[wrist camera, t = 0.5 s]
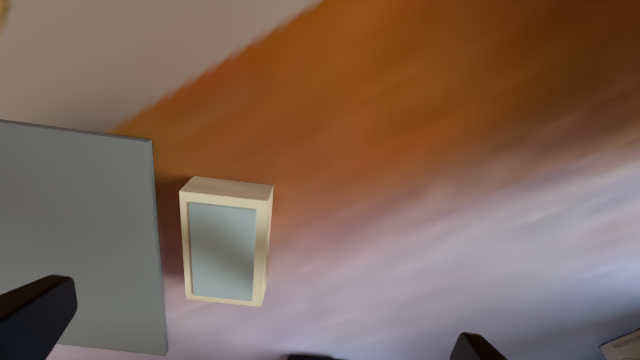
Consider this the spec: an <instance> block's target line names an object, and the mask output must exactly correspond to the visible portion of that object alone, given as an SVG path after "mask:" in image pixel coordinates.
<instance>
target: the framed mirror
mask: <svg viewBox="0 0 640 360" xmlns="http://www.w3.org/2000/svg"><path fill="white" fill-rule="evenodd" d="M179 199H180V214H181V230H182V245H183V261H184V276H185V292H186V299H189V300H199V301H209V302H218V303H228V304H238V305H247V306H257V307H261V306H262V302H263V298H264V294H265V290H266V286H267V274H268V259H269V244H270V229H271V214H272V199H273V185H266V184H257V183H249V182H240V181H231V180H223V179H214V178H205V177H197V176H193V177H192V178H191V179H190V180H189V181H188V182H187V183H186V184H185V185H184V186H183V187H182V189H181V190H180V191H179Z"/></svg>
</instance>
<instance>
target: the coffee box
mask: <svg viewBox="0 0 640 360" xmlns="http://www.w3.org/2000/svg"><path fill="white" fill-rule="evenodd" d="M600 350H601V351H602V353H603V354H604V356H605V357H606V359H607V360H640V330H638V331H635V332H633V333H630V334H628V335H625V336H623V337H621V338H618V339H616V340H613V341H611V342H608V343H606V344H604V345H602V346H600Z"/></svg>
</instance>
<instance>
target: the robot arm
mask: <svg viewBox="0 0 640 360" xmlns="http://www.w3.org/2000/svg"><path fill="white" fill-rule="evenodd" d="M77 308H78V301H77V295H76V288H75V282H74V280H73V278H72V277H70V276H64V275H56V274H52V275H48V276H46V277H43V278H41V279H38V280H36V281H33V282H31V283H28V284H26V285H23V286H21V287H18V288H16V289H13V290H11V291H8V292H6V293H3V294H1V295H0V360H46V358H47V357H48V355H49V354H50V352H51V351H52V349H53V348H54V346H55V345H56V343H57V342H58V340H59V339H60V337H61V336H62V334H63V333H64V331H65V329H66V328H67V326H68V325H69V323H70V322H71V320H72V319H73V317H74V316H75V314H76V311H77ZM287 360H326V359H317V358H308V357H299V356H289V357H288V358H287ZM450 360H508V359H506V358H505V357H504V356H503V355H502V354H501V353H500V352H499V351H498V350H497V349H496V348H494V347H493V346H492V345H491V344H490V343H489V342H488V341H487V340H486V339H485V338H484V337H482V336H481V335H479V334H475V333H468V332H462V333H461V334H460V335H459V337H458V339H457V341H456V344H455V346H454V348H453V351H452V353H451V355H450Z"/></svg>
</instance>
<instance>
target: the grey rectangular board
mask: <svg viewBox="0 0 640 360" xmlns="http://www.w3.org/2000/svg"><path fill="white" fill-rule="evenodd" d="M52 274H56V275H64V276H70V277H72V278H73V280H74V282H75V288H76V295H77V301H78V308H77V311H76V314H75V316H74V317H73V319H72V320H71V322H70V323H69V325H68V326H67V328H66V329H65V331H64V333H63V334H62V336H61V337H60V339H59V340H58V342H57V343H56V344H63V345H72V346H81V347H90V348H99V349H109V350H118V351H127V352H136V353H145V354H154V355H163V356H165V355H166V353H167V351H168V346H167V333H166V321H165V308H164V295H163V282H162V269H161V256H160V243H159V230H158V217H157V204H156V192H155V179H154V166H153V153H152V140H150V139H142V138H135V137H128V136H120V135H113V134H105V133H98V132H91V131H83V130H76V129H68V128H60V127H53V126H46V125H39V124H31V123H23V122H16V121H8V120H2V119H0V295H1V294H3V293H6V292H8V291H11V290H13V289H16V288H18V287H21V286H23V285H26V284H28V283H31V282H33V281H36V280H38V279H41V278H43V277H46V276H48V275H52Z"/></svg>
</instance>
